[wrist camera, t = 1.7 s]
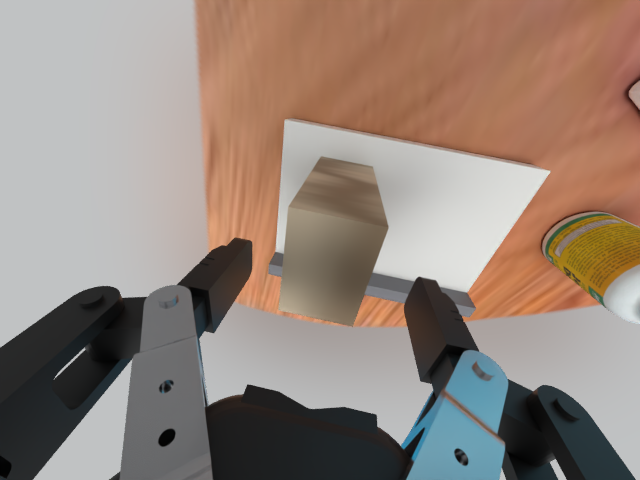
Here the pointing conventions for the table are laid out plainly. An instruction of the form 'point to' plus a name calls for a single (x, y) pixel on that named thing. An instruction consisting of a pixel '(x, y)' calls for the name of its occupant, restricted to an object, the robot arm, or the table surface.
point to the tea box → (332, 241)
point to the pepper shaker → (635, 94)
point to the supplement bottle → (600, 259)
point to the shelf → (417, 205)
